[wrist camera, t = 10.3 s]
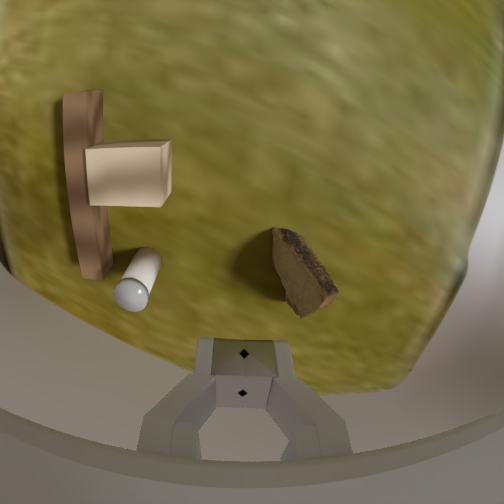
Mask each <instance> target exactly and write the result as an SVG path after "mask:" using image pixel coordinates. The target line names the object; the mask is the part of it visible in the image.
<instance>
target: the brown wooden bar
mask: <svg viewBox="0 0 504 504" xmlns="http://www.w3.org/2000/svg"><path fill="white" fill-rule="evenodd" d="M102 142H103V90H87V91H80V92H74V93H67V94H63V143H64V160H65V172H66V182H67V192H68V200H69V207H70V214H71V221H72V227H73V233H74V238H75V244H76V249H77V254H78V259H79V264H80V268H81V273H82V277H83V278H85V279H94V280H104V279H105V277H106V275H107V274H108V272H109V271H110V269H111V267H112V266H113V264H114V260H113V254H112V247H111V239H110V232H109V223H108V214H107V206H91V205H90V201H89V191H88V181H87V168H86V152H85V149H87V148H90V147H92V146H94V145H97V144H99V143H102Z"/></svg>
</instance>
